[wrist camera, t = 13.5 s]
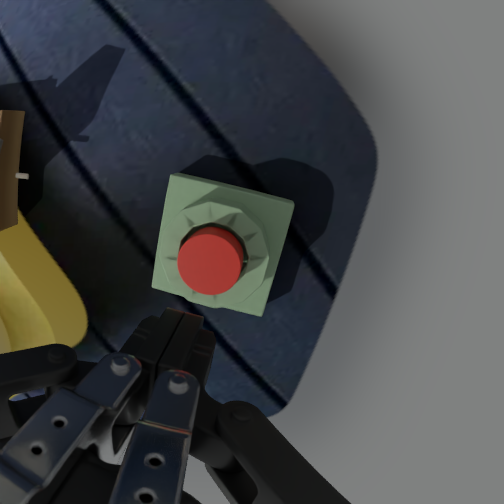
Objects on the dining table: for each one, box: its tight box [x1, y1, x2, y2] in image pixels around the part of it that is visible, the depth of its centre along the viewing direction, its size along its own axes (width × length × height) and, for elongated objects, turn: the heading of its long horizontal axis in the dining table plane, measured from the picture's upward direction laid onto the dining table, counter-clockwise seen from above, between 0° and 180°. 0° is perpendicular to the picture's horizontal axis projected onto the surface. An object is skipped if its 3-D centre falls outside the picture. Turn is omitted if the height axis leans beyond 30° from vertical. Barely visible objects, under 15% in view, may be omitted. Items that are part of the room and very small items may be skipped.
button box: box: [152, 173, 295, 316], centre depth 21 cm, size 8×8×4 cm
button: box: [177, 227, 244, 295], centre depth 19 cm, size 4×4×2 cm
